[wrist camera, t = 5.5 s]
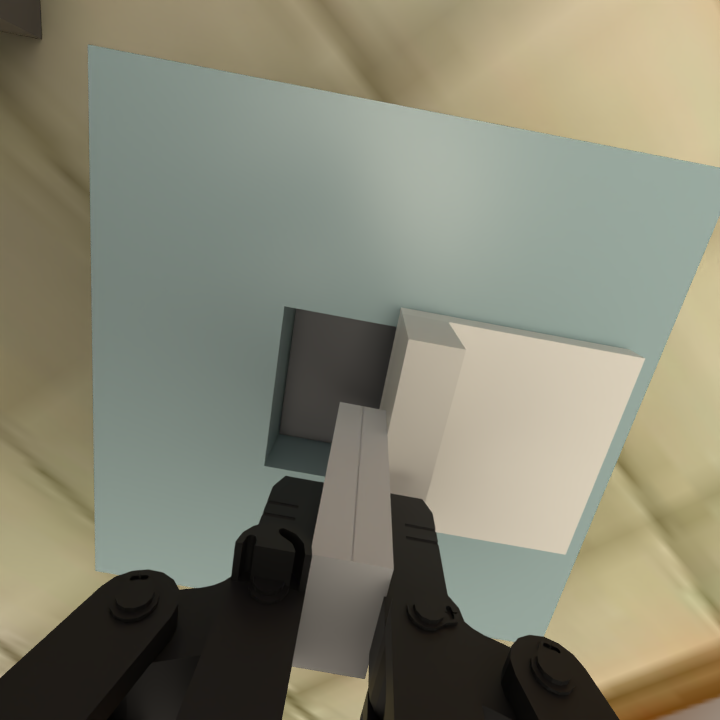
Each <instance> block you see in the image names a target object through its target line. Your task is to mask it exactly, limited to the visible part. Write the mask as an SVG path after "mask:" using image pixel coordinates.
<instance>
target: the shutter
mask: <svg viewBox="0 0 720 720" xmlns="http://www.w3.org/2000/svg"><path fill="white" fill-rule="evenodd" d="M644 361H645V358H644V357H642V356H640V355H638V354H636V353H635V352H633V351H631V350H629V349H624V348H619V347H613V346H608V345H602V344H597V343H592V342H586V341H581V340H575V339H570V338H565V337H559V336H554V335H548V334H543V333H538V332H532V331H527V330H521V329H516V328H511V327H505V326H500V325H494V324H489V323H484V322H478V321H473V320H467V319H462V318H456V317H451V316H446V315H440V314H435V313H429V312H424V311H419V310H413V309H408V308H402V307H401V309H400V314H399V319H398V323H397V328H396V333H395V338H394V342H393V347H392V352H391V356H390V361H389V366H388V370H387V375H386V380H385V385H384V389H383V394H382V399H381V403H380V408H379V409H381V410H386V421H387V436H388V455H389V477H390V493H392V494H397V495H403V496H408V497H414V498H419V499H423V501H424V502H425V503H426V505H427V506H428V508H429V509H430V510H431V512H432V513H433V518H434V523H435V528H436V529H435V532H438V533H443V534H449V535H455V536H461V537H466V538H472V539H478V540H484V541H489V542H495V543H501V544H507V545H512V546H518V547H524V548H530V549H535V550H541V551H547V552H553V553H558V554H564V555H566V552H567V550H568V548H569V545H570V543H571V540H572V538H573V535H574V533H575V530H576V528H577V525H578V523H579V520H580V518H581V516H582V513H583V511H584V508H585V506H586V503H587V501H588V498H589V496H590V493H591V491H592V489H593V486H594V484H595V481H596V479H597V476H598V474H599V471H600V469H601V466H602V464H603V462H604V459H605V457H606V454H607V452H608V449H609V447H610V444H611V442H612V439H613V437H614V434H615V432H616V430H617V427H618V425H619V422H620V420H621V417H622V415H623V412H624V410H625V407H626V405H627V403H628V400H629V398H630V395H631V393H632V390H633V388H634V385H635V383H636V380H637V378H638V375H639V373H640V371H641V368H642V366H643V363H644Z"/></svg>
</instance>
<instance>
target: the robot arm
mask: <svg viewBox="0 0 720 720" xmlns="http://www.w3.org/2000/svg"><path fill="white" fill-rule="evenodd" d="M435 529H436V528H435V523H434V518H433V513H432V512H431V510H430V509H429V508H428V506H427V505H426V503H425V502H424V501H423V499H419V498H414V497H408V496H403V495H397V494H392V493H390V477H389V455H388V436H387V421H386V410H381V409H375V408H370V407H364V406H359V405H354V404H348V403H343V402H340V404H339V410H338V415H337V420H336V425H335V430H334V435H333V440H332V445H331V450H330V455H329V460H328V466H327V471H326V476H325V481H324V483H323V482H318V481H312V480H307V479H301V478H296V477H290V476H285V477H283V478H282V479H281V480H280V481H279V482H277V483H276V484H275V485H274V486H273V487H272V490H271V492H270V495H269V498H268V500H267V503H266V506H265V508H264V511H263V515H262V516H261V519H260V521H259V524H258V525H254V526H252V527H251V528H249V529H247V530H245V531H244V532H242V534H241V535H240V536H239V538H238V539H237V540H236V542H235V548H234V557H233V565H232V574H231V577H229V578H228V579H226V580H225V581H223V582H220V583H218V584H215V585H212V586H207V587H202V588H193V589H183V590H179V589H178V587H177V585H176V583H175V581H174V579H172V578H171V577H169V576H168V575H166V574H165V573H163V572H159V571H154V570H149V569H147V570H135V571H130V572H127V573H124V574H122V575H119V576H116V577H114V578H113V579H111V580H110V581H108V582H107V583H105V584H104V585H102V586H101V587H100V588H99V589H98V590H96V591H95V592H94V593H93V594H92V595H91V596H90V597H89V598H88V599H87V600H86V601H84V602H83V603H82V604H81V605H80V606H79V607H78V608H77V609H76V610H75V611H73V612H72V613H71V614H70V615H69V616H68V617H67V618H66V619H65V620H64V621H62V622H61V623H60V624H59V625H58V626H57V627H56V628H55V629H54V630H53V631H51V632H50V633H49V634H48V635H47V636H46V637H45V638H44V639H43V640H42V641H40V642H39V643H38V644H37V645H36V646H35V647H34V648H33V649H32V650H31V651H29V652H28V653H27V654H26V655H25V656H24V657H23V658H22V659H21V660H20V661H18V662H17V663H16V664H15V665H14V666H13V667H12V668H11V669H10V670H9V671H7V672H6V673H5V674H4V675H3V676H2V677H1V678H0V720H282V715H283V710H284V705H285V699H286V694H287V689H288V683H289V678H290V672H291V667H298V668H304V669H310V670H315V671H321V672H327V673H333V674H339V675H344V676H350V677H356V678H362V679H365V676H366V672H367V668H368V665H369V685H368V691H367V695H366V699H365V702H364V706H363V710H362V713H361V717H360V720H619V718H618V717H617V715H616V714H615V712H614V711H613V709H612V708H611V706H610V705H609V703H608V702H607V700H606V699H605V697H604V696H603V694H602V693H601V691H600V690H599V688H598V687H597V686H596V684H595V683H594V681H593V680H592V678H591V677H590V675H589V674H588V672H587V671H586V669H585V668H584V667H583V666H582V664H581V663H580V662H579V661H578V660H577V659H576V657H575V656H574V655H573V654H572V653H570V652H569V651H568V650H566V649H565V648H564V647H562V646H561V645H560V644H558V643H556V642H554V641H552V640H550V639H547V638H545V637H543V636H535V635H526V636H523V637H520V638H518V639H517V640H516V641H515V643H514V644H513V645H512V646H511V648H510V647H508V646H506V645H504V644H502V643H500V642H498V641H495V640H493V639H491V638H489V637H487V636H485V635H483V634H481V633H480V632H478V631H476V630H474V629H473V628H472V627H470V626H469V625H468V624H467V623H465V622H464V619H463V617H462V614H461V612H460V609H459V607H458V606H457V605H456V604H455V603H454V602H453V601H452V599H451V598H450V597H449V596H448V594H447V588H446V583H445V578H444V572H443V567H442V561H441V556H440V550H439V545H438V539H437V534H436V532H435Z"/></svg>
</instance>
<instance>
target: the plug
mask: <svg viewBox="0 0 720 720" xmlns="http://www.w3.org/2000/svg"><path fill="white" fill-rule="evenodd" d="M0 31H3V32H8V33H13V34H18V35H24V36H29V37H34V38H39V39H42V33H41V10H40V0H0Z"/></svg>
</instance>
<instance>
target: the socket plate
mask: <svg viewBox="0 0 720 720" xmlns="http://www.w3.org/2000/svg"><path fill="white" fill-rule="evenodd" d="M88 89H89V158H90V226H91V295H92V363H93V432H94V500H95V569H96V571H99V572H105V573H111V574H117V575H122V574H124V573H127V572H130V571H135V570H147V569H149V570H154V571H159V572H163V573H165V574H166V575H168V576H169V577H171V578H172V579H174V581H175V583H176V585H182V586H188V587H194V588H202V587H207V586H212V585H215V584H218V583H220V582H223V581H225V580H226V579H228V578H229V577H231V574H232V565H233V557H234V548H235V542H236V540H237V539H238V538H239V536H240V535H241V534H242V532H244V531H245V530H247V529H249V528H251V527H252V526H254V525H258V524H259V521H260V519H261V516H262V515H263V511H264V508H265V506H266V503H267V500H268V498H269V495H270V492H271V490H272V487H273V486H274V485H275V484H276V483H277V482H279V481H280V480H281V479H282V478H283V477H285V476H290V477H296V478H301V479H307V480H312V481H318V482H323V483H324V481H325V476H326V471H327V466H328V460H329V455H330V450H331V445H332V440H333V435H334V430H335V425H336V420H337V415H338V410H339V404H340V402H343V403H348V404H354V405H359V406H364V407H370V408H375V409H379V408H380V403H381V399H382V394H383V389H384V385H385V380H386V375H387V370H388V366H389V361H390V356H391V352H392V347H393V342H394V338H395V333H396V328H397V323H398V319H399V314H400V309H401V307H402V308H408V309H413V310H419V311H424V312H429V313H435V314H440V315H446V316H451V317H456V318H462V319H467V320H473V321H478V322H484V323H489V324H494V325H500V326H505V327H511V328H516V329H521V330H527V331H532V332H538V333H543V334H548V335H554V336H559V337H565V338H570V339H575V340H581V341H586V342H592V343H597V344H602V345H608V346H613V347H619V348H624V349H629V350H631V351H633V352H635V353H636V354H638V355H640V356H642V357H644V358H645V361H644V363H643V366H642V368H641V371H640V373H639V375H638V378H637V380H636V383H635V385H634V388H633V390H632V393H631V395H630V398H629V400H628V403H627V405H626V407H625V410H624V412H623V415H622V417H621V420H620V422H619V425H618V427H617V430H616V432H615V434H614V437H613V439H612V442H611V444H610V447H609V449H608V452H607V454H606V457H605V459H604V462H603V464H602V466H601V469H600V471H599V474H598V476H597V479H596V481H595V484H594V486H593V489H592V491H591V493H590V496H589V498H588V501H587V503H586V506H585V508H584V511H583V513H582V516H581V518H580V520H579V523H578V525H577V528H576V530H575V533H574V535H573V538H572V540H571V543H570V545H569V548H568V550H567V552H566V555H564V554H558V553H553V552H547V551H541V550H535V549H530V548H524V547H518V546H512V545H507V544H501V543H495V542H489V541H484V540H478V539H472V538H466V537H461V536H455V535H449V534H443V533H438V532H436V534H437V539H438V545H439V550H440V556H441V561H442V567H443V572H444V578H445V583H446V588H447V594H448V596H449V597H450V598H451V599H452V601H453V602H454V603H455V604H456V605H457V606H458V607H459V609H460V612H461V614H462V617H463V619H464V622H465V623H467V624H468V625H469V626H470V627H472V628H473V629H474V630H476V631H478V632H480V633H481V634H483V635H485V636H487V637H489V638H494V639H500V640H506V641H512V642H515V641H516V640H517V639H518V638H520V637H523V636H526V635H535V636H543V637H544V634H545V632H546V630H547V627H548V625H549V622H550V620H551V618H552V615H553V613H554V610H555V608H556V606H557V603H558V601H559V598H560V596H561V594H562V591H563V589H564V586H565V584H566V582H567V579H568V577H569V575H570V572H571V570H572V567H573V565H574V563H575V560H576V558H577V555H578V553H579V551H580V548H581V546H582V543H583V541H584V539H585V536H586V534H587V531H588V529H589V527H590V524H591V522H592V519H593V517H594V515H595V512H596V510H597V508H598V505H599V503H600V500H601V498H602V496H603V493H604V491H605V488H606V486H607V484H608V481H609V479H610V476H611V474H612V472H613V469H614V467H615V464H616V462H617V460H618V457H619V455H620V452H621V450H622V448H623V445H624V443H625V441H626V438H627V436H628V433H629V431H630V429H631V426H632V424H633V421H634V419H635V417H636V414H637V412H638V409H639V407H640V405H641V402H642V400H643V397H644V395H645V393H646V390H647V388H648V385H649V383H650V381H651V378H652V376H653V373H654V371H655V369H656V366H657V364H658V362H659V359H660V357H661V354H662V352H663V350H664V347H665V345H666V342H667V340H668V338H669V335H670V333H671V330H672V328H673V326H674V323H675V321H676V318H677V316H678V314H679V311H680V309H681V306H682V304H683V302H684V299H685V297H686V295H687V292H688V290H689V287H690V285H691V283H692V280H693V278H694V275H695V273H696V271H697V268H698V266H699V263H700V261H701V259H702V256H703V254H704V251H705V249H706V247H707V244H708V242H709V239H710V237H711V235H712V232H713V230H714V228H715V225H716V223H717V220H718V218H719V216H720V168H719V167H714V166H708V165H703V164H698V163H693V162H688V161H683V160H678V159H673V158H667V157H662V156H657V155H652V154H647V153H642V152H637V151H632V150H626V149H621V148H616V147H611V146H606V145H601V144H596V143H590V142H585V141H580V140H575V139H570V138H565V137H560V136H555V135H549V134H544V133H539V132H534V131H529V130H524V129H519V128H514V127H508V126H503V125H498V124H493V123H488V122H483V121H478V120H473V119H467V118H462V117H457V116H452V115H447V114H442V113H437V112H432V111H426V110H421V109H416V108H411V107H406V106H401V105H396V104H390V103H385V102H380V101H375V100H370V99H365V98H360V97H355V96H349V95H344V94H339V93H334V92H329V91H324V90H319V89H314V88H308V87H303V86H298V85H293V84H288V83H283V82H278V81H273V80H267V79H262V78H257V77H252V76H247V75H242V74H237V73H231V72H226V71H221V70H216V69H211V68H206V67H201V66H196V65H190V64H185V63H180V62H175V61H170V60H165V59H160V58H155V57H149V56H144V55H139V54H134V53H129V52H124V51H119V50H114V49H108V48H103V47H98V46H93V45H88Z"/></svg>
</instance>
